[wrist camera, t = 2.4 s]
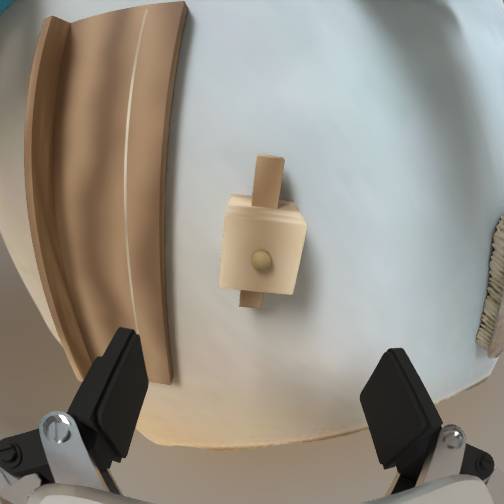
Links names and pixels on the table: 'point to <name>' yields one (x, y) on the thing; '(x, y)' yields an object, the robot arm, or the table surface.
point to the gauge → (262, 238)
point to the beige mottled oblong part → (494, 300)
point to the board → (103, 177)
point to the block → (4, 4)
